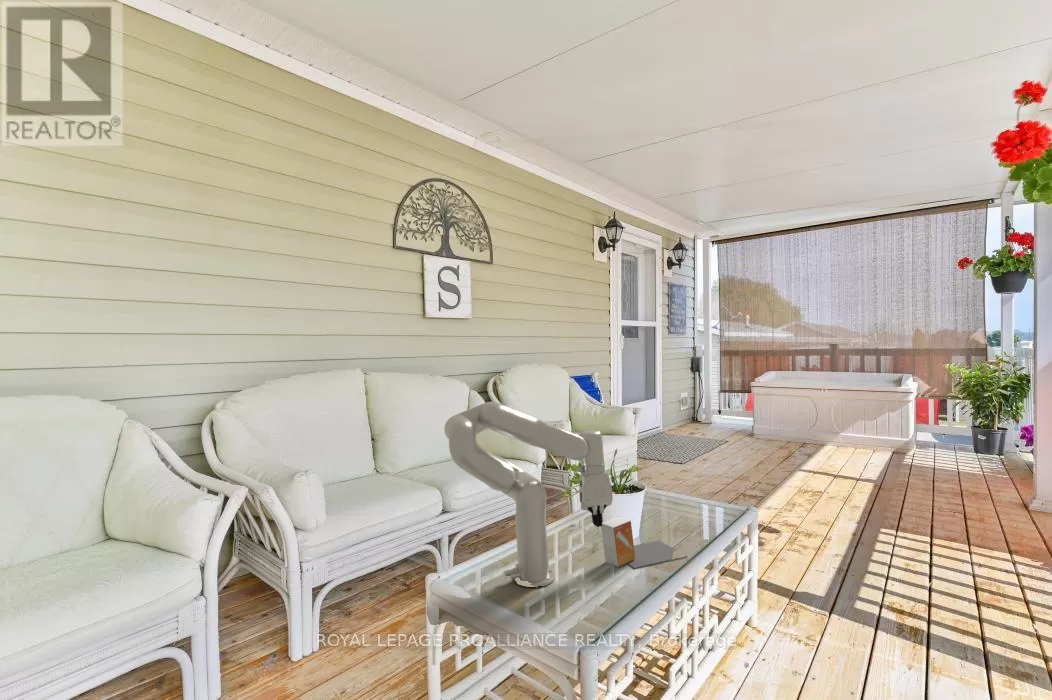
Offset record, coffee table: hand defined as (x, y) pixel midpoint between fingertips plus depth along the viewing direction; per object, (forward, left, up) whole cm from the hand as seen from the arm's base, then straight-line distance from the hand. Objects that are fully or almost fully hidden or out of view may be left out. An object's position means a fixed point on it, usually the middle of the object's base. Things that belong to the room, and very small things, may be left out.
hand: (597, 525), depth 165 cm
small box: (+7, 0, -13) cm, 15 cm away
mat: (+18, +1, -13) cm, 23 cm away
